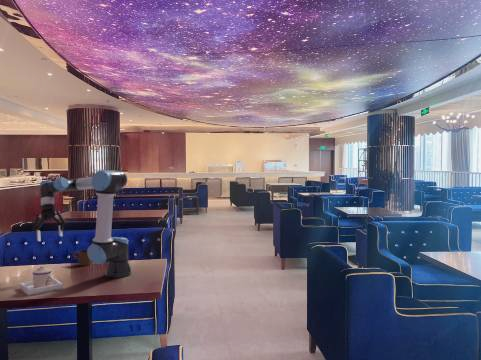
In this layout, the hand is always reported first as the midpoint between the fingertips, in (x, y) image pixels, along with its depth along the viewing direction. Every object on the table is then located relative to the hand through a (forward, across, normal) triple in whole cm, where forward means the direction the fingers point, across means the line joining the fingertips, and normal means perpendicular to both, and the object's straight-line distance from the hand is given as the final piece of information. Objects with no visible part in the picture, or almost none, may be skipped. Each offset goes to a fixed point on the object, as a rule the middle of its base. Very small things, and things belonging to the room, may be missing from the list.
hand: (50, 238), depth 241 cm
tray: (+31, -2, +15) cm, 34 cm away
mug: (+13, -2, -36) cm, 38 cm away
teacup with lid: (+30, -2, +15) cm, 34 cm away
